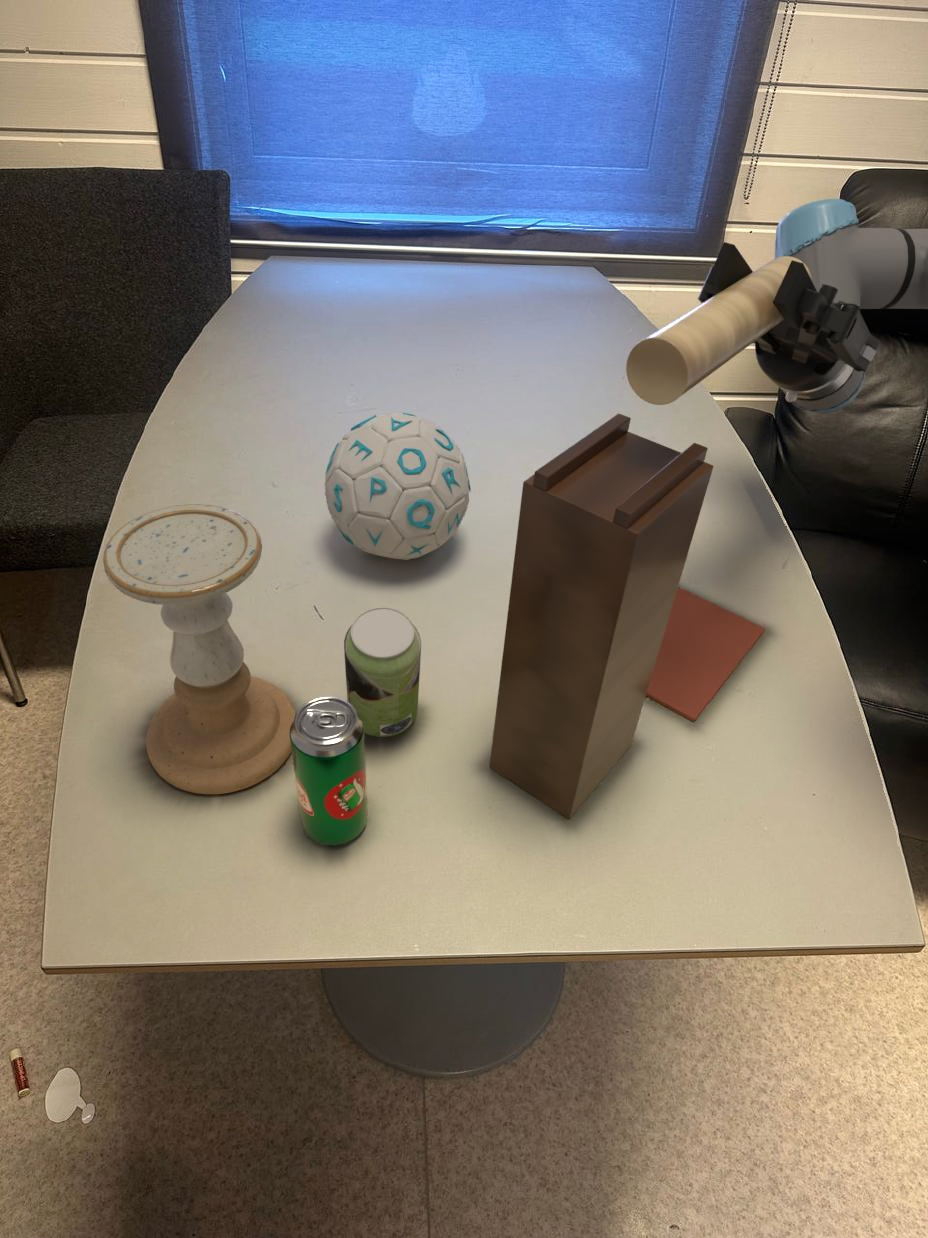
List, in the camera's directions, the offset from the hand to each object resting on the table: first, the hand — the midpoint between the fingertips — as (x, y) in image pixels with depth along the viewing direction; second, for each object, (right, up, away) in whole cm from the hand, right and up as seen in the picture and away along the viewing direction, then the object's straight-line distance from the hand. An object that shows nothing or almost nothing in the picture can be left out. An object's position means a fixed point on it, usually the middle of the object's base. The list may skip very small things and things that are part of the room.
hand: (753, 273), depth 54 cm
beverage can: (-26, -32, +18) cm, 45 cm away
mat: (+2, -25, +27) cm, 37 cm away
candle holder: (-39, -33, +16) cm, 53 cm away
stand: (-11, -34, +16) cm, 39 cm away
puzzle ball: (-26, -15, +37) cm, 48 cm away
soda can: (-29, -39, +10) cm, 49 cm away
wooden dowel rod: (-2, -5, +2) cm, 5 cm away
